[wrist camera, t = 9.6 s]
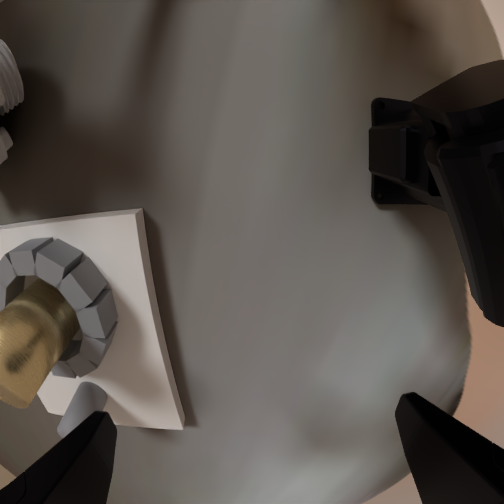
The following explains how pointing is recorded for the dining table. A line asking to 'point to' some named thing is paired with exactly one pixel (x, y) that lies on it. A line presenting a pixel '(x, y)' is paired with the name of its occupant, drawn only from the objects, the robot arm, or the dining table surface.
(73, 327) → the brass cylinder
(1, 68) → the mechanical valve
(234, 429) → the dining table surface
